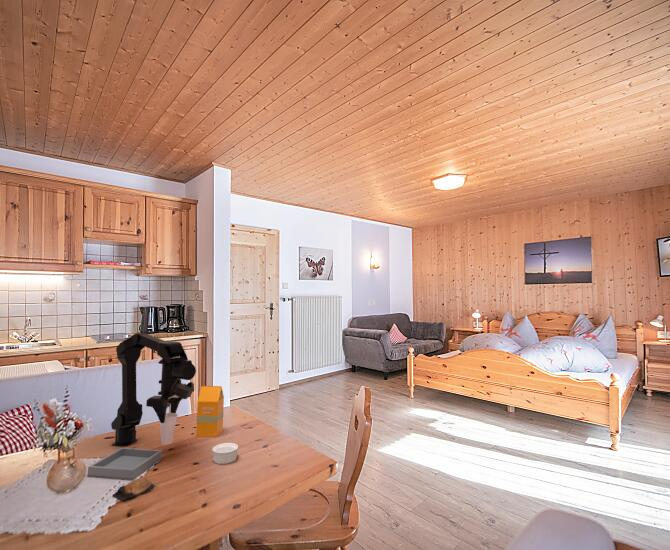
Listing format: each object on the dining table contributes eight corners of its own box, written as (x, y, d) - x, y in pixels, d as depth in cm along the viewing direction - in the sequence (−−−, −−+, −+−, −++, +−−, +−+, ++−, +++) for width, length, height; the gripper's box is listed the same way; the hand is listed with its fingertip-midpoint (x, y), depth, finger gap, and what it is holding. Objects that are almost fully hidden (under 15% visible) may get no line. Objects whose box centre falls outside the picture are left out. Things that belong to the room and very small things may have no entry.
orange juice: (216, 437, 151) (218, 388, 153) (195, 437, 151) (197, 388, 153) (222, 430, 159) (224, 384, 161) (202, 430, 159) (204, 383, 161)
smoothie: (169, 446, 129) (171, 406, 130) (153, 445, 131) (155, 405, 131) (179, 440, 136) (181, 401, 137) (164, 438, 137) (166, 400, 138)
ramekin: (207, 459, 130) (207, 447, 131) (229, 452, 137) (229, 440, 137) (220, 467, 124) (220, 454, 125) (242, 459, 131) (242, 447, 131)
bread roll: (142, 482, 115) (143, 470, 115) (160, 488, 111) (161, 476, 111) (108, 497, 105) (109, 484, 106) (126, 505, 101) (127, 491, 102)
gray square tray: (87, 476, 117) (88, 466, 117) (121, 456, 132) (122, 447, 132) (132, 480, 115) (132, 470, 115) (161, 459, 130) (162, 450, 130)
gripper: (177, 383, 125) (174, 430, 124) (202, 372, 143) (200, 413, 142) (146, 382, 126) (143, 428, 125) (175, 371, 144) (173, 411, 143)
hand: (167, 419), depth 134 cm, fingers closed on smoothie, 6 cm apart
